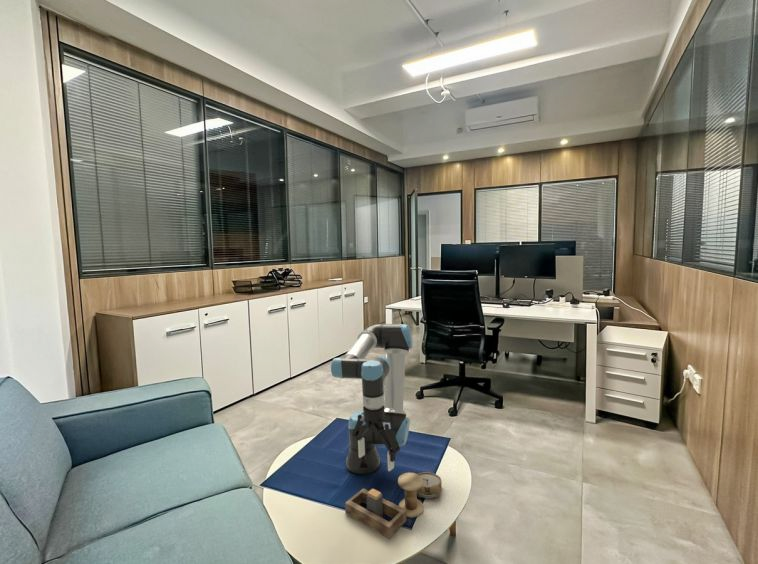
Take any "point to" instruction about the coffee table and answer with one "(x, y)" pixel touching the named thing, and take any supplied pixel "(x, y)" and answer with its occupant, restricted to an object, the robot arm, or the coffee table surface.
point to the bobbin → (411, 494)
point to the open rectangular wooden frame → (372, 519)
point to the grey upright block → (375, 502)
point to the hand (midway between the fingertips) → (375, 462)
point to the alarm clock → (429, 485)
